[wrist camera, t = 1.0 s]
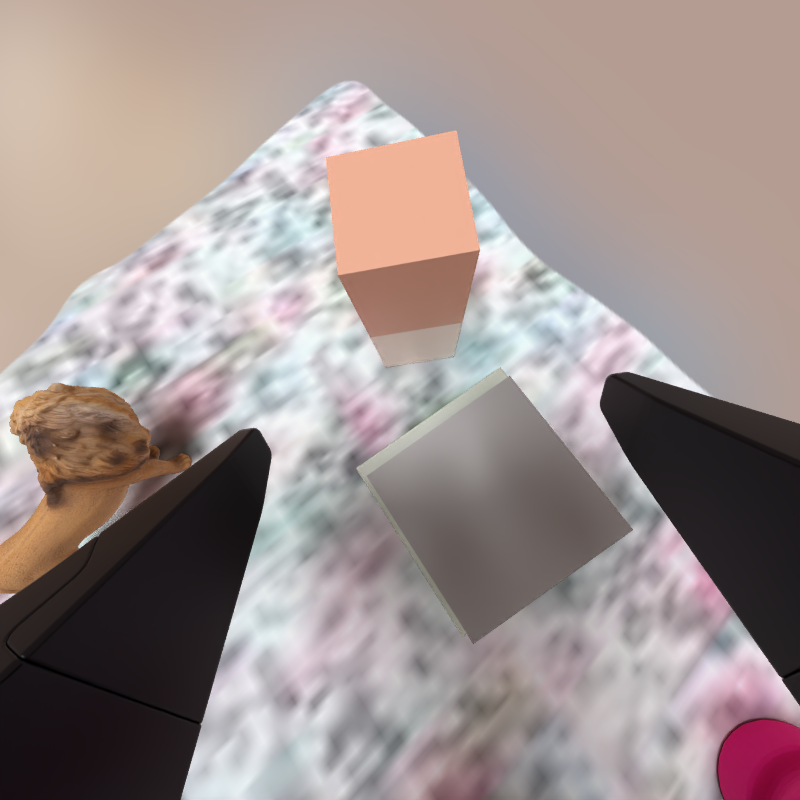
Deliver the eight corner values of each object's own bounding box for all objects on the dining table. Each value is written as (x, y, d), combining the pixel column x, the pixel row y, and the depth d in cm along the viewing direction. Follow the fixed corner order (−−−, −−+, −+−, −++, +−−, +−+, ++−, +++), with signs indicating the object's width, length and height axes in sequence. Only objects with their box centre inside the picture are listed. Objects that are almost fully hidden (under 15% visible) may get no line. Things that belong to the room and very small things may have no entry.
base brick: (616, 519, 19) (663, 536, 16) (461, 629, 19) (469, 674, 15) (497, 370, 22) (512, 352, 18) (358, 467, 22) (342, 471, 18)
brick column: (453, 356, 22) (479, 250, 11) (385, 367, 23) (337, 275, 11) (443, 293, 23) (456, 130, 11) (378, 304, 24) (325, 157, 12)
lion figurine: (157, 394, 24) (0, 360, 15) (215, 414, 23) (85, 392, 15) (71, 583, 22) (-164, 669, 13) (131, 613, 22) (-76, 725, 13)
